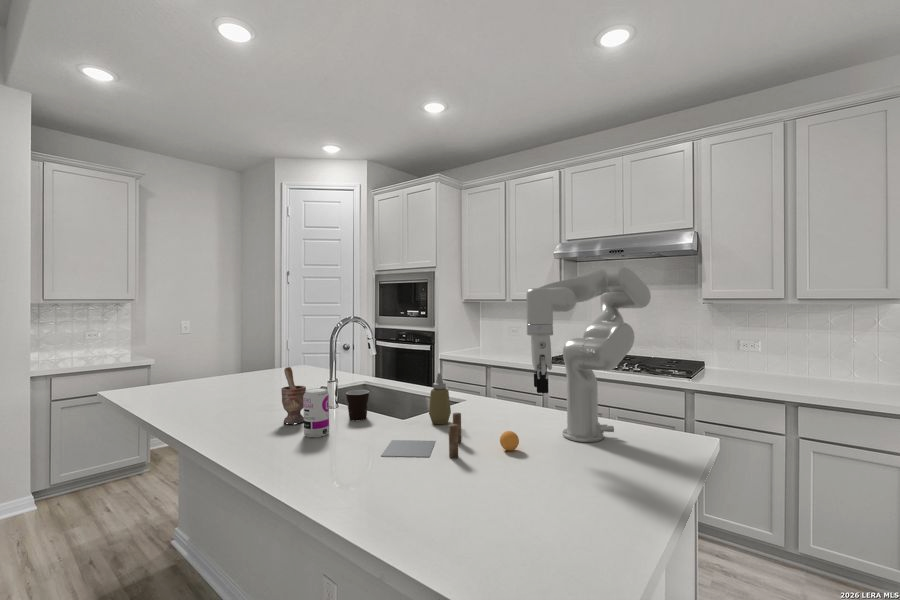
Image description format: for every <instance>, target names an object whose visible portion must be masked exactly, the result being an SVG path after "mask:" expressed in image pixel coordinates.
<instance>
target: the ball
mask: <svg viewBox="0 0 900 600" xmlns="http://www.w3.org/2000/svg"><path fill="white" fill-rule="evenodd" d="M499 443H500V446H501V447H502V449H504V450H505V451H509V452H512V451H514V450H516V449H517V448H518V447H519V443H520V438H519V436H518V435H517V433H516V432H514V431H512V430H506V431H504V432H503V433H501V435H500V437H499Z"/></svg>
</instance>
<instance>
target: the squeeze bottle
mask: <svg viewBox="0 0 900 600" xmlns="http://www.w3.org/2000/svg"><path fill="white" fill-rule="evenodd" d="M428 409H429V410H428V414H429V418H430V421H431V423H432V424H435V425H445V424H448V423H449V420H450V416H451V413H452V410H451V409H452V408H451V403H450V392H449V389H448V388H447V383H446V382H444V380H443V376H442V373H441V372H439V373H438V372H437V376H436V380H435V382H434V383H433V384H432V389H431V390H430V395H429V408H428Z"/></svg>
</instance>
